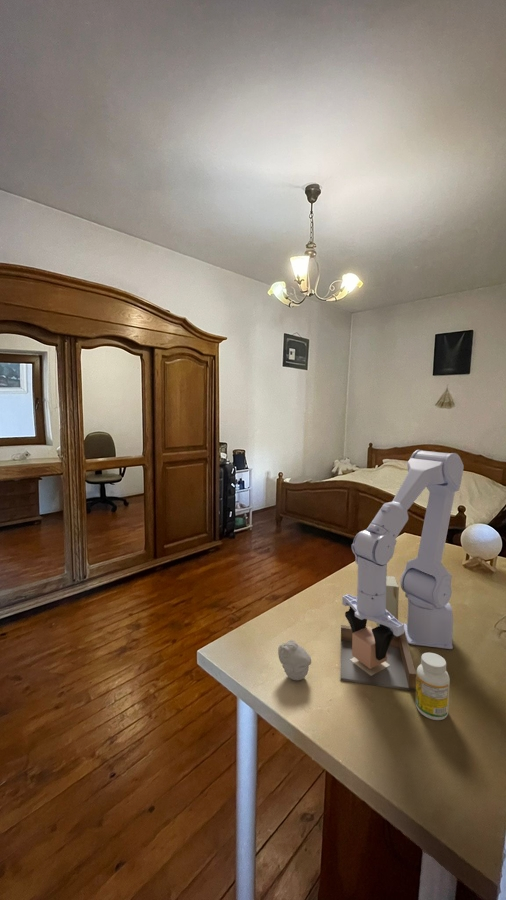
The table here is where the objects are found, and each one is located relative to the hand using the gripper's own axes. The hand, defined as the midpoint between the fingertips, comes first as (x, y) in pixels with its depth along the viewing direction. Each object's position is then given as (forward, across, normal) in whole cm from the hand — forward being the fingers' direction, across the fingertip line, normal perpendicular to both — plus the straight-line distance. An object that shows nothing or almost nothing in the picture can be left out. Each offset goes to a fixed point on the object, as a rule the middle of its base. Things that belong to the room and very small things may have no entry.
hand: (370, 650), depth 80 cm
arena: (+3, 0, +1) cm, 3 cm away
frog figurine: (+3, -6, -16) cm, 17 cm away
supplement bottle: (+3, +14, 0) cm, 15 cm away
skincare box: (+3, -7, +14) cm, 16 cm away
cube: (+2, 0, 0) cm, 2 cm away
